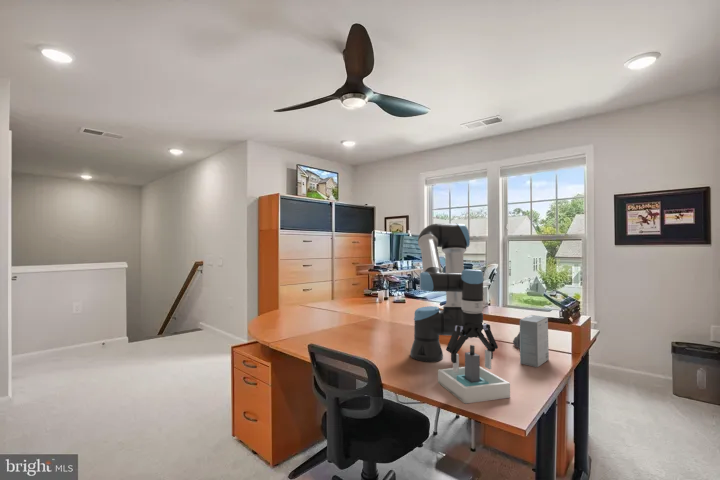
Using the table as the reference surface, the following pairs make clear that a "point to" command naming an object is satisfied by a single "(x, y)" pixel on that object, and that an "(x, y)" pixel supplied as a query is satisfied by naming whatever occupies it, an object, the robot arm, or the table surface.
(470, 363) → the connector plug
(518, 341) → the mineral rock
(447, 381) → the walled box
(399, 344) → the table surface
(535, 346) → the hard drive box
